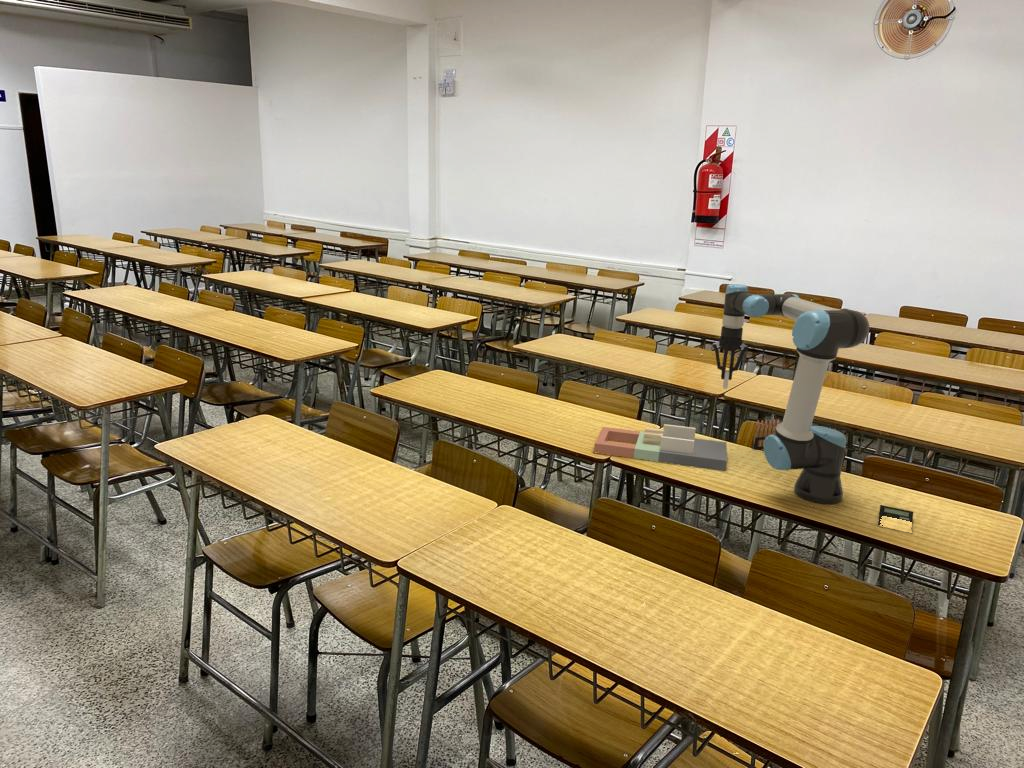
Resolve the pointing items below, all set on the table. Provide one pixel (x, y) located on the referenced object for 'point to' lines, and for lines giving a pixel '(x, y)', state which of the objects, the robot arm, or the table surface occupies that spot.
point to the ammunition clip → (762, 433)
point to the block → (653, 436)
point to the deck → (665, 447)
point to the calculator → (895, 513)
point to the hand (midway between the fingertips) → (725, 387)
